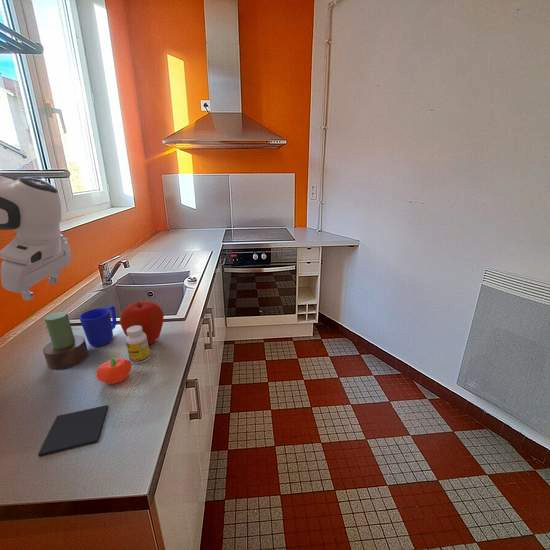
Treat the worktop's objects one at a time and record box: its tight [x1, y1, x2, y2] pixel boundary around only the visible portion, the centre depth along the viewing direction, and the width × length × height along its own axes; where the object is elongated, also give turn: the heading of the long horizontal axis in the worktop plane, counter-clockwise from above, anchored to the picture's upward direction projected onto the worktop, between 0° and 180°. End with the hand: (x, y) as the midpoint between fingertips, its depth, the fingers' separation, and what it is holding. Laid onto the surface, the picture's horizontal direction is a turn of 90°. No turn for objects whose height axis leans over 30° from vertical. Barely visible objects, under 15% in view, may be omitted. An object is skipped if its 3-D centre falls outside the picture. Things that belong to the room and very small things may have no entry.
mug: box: [78, 305, 117, 347], centre depth 96 cm, size 8×12×10 cm
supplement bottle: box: [125, 325, 151, 365], centre depth 85 cm, size 5×5×10 cm
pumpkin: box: [95, 357, 133, 385], centre depth 77 cm, size 7×8×6 cm
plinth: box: [42, 334, 90, 371], centre depth 86 cm, size 10×10×5 cm
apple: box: [119, 300, 165, 345], centre depth 92 cm, size 12×12×14 cm
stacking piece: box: [44, 311, 75, 349], centre depth 84 cm, size 5×5×9 cm
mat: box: [37, 404, 109, 457], centre depth 63 cm, size 10×10×1 cm
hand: (41, 290), depth 82 cm, fingers open, 8 cm apart
